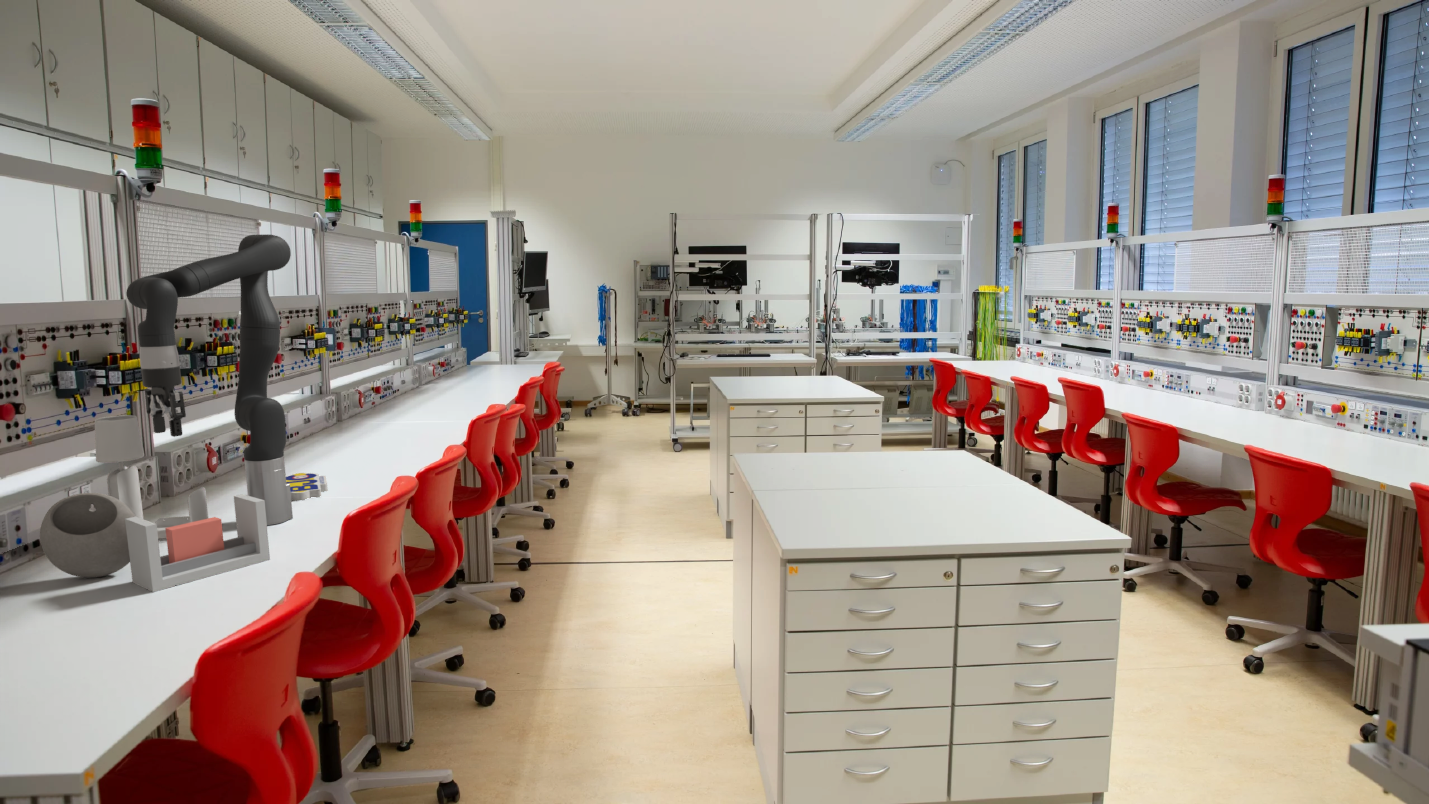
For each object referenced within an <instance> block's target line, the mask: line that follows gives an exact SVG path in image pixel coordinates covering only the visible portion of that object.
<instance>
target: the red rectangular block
mask: <svg viewBox="0 0 1429 804" xmlns="http://www.w3.org/2000/svg"><path fill="white" fill-rule="evenodd" d="M165 529H166V538H167V539H166V544H167V555H168V556H169V564H170V563H174V562H178V561H182V560H186V559H190V558H194V557H197V556H201V555H205V554H209V553H213V552H217V551H221V550H224V542H223V541H224V536H223V535H224V534H223V522H222V518H219V517H216V516H213V517H208V519H204V520H199V521H195V522H190V523H186V524H182V525H177V526H173V527H168V528H165Z"/></svg>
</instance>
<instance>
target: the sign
mask: <svg viewBox="0 0 1429 804" xmlns="http://www.w3.org/2000/svg"><path fill="white" fill-rule="evenodd" d="M286 483H289V484H290V491H291V501H294V500H302V501H305V499H307V498H309V499H312V498H311V497H316V498H321V497H322V493H325V492H324V491H326V492H328V491H329V490H328V489H329V488H328V481H327V476H326V475H320V474H318V473H315V472H295V473H292V474H290V475H286ZM320 496H321V497H320ZM307 500H308V499H307Z"/></svg>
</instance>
